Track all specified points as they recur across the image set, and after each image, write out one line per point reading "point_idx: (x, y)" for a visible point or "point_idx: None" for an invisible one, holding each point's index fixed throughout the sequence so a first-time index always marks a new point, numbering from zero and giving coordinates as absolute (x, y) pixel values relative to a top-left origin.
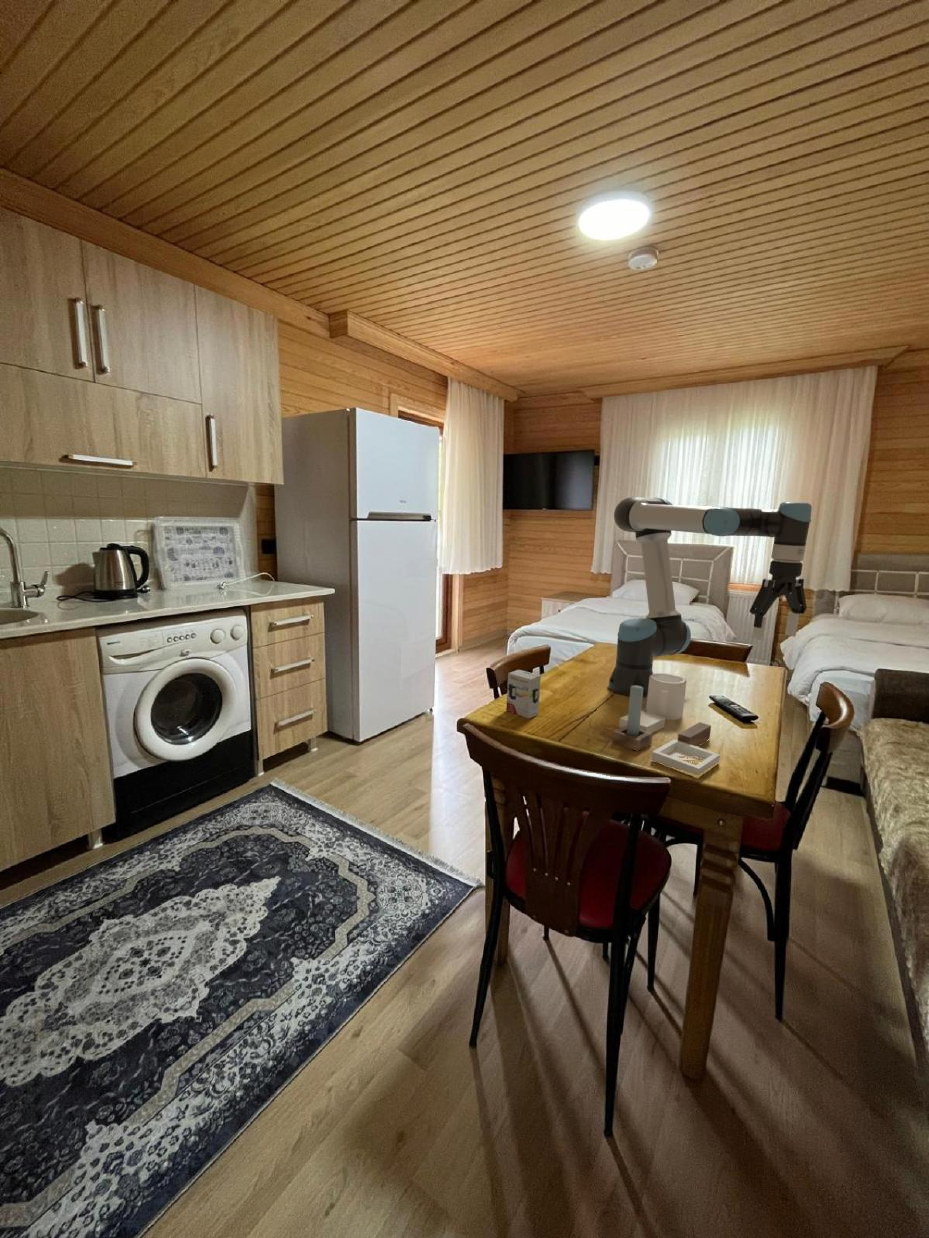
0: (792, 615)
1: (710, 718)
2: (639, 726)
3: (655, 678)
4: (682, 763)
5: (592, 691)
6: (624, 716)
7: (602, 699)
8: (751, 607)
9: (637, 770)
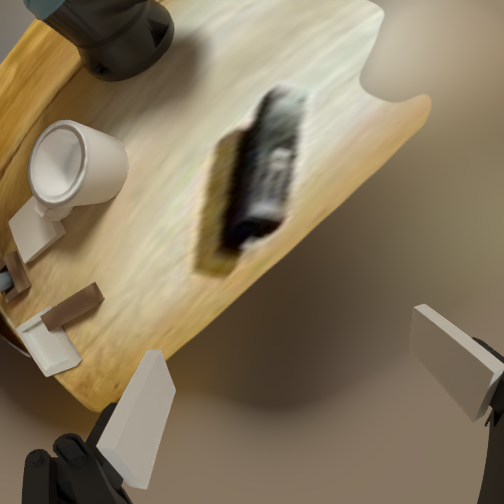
0: (474, 389)
1: (167, 211)
2: (3, 289)
3: (54, 135)
4: (35, 361)
5: (60, 59)
6: (14, 215)
7: (49, 97)
8: (25, 475)
9: (11, 333)
